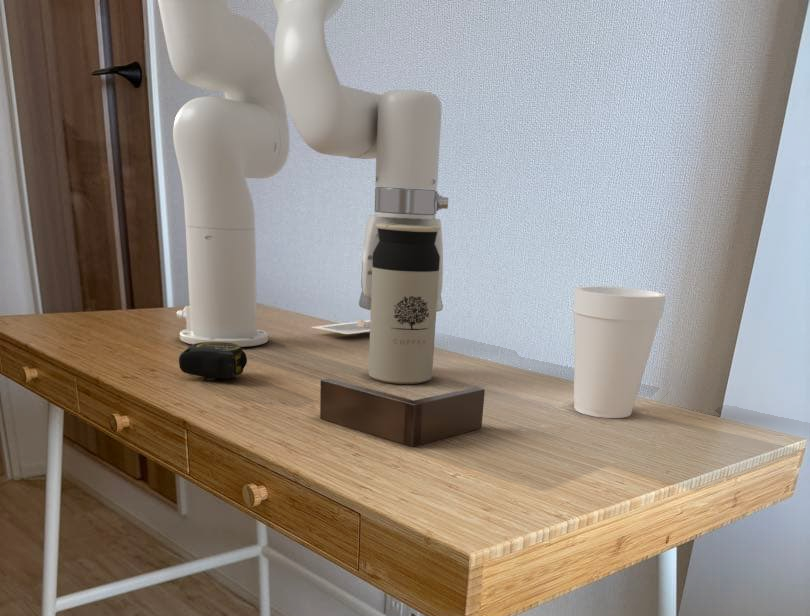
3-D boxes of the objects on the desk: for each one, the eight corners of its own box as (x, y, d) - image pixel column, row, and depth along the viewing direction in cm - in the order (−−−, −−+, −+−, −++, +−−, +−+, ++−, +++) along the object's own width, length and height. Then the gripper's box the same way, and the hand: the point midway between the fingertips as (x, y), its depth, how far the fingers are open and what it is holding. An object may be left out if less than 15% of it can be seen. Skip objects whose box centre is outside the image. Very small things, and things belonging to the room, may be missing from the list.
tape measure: (176, 380, 97) (174, 348, 95) (203, 369, 103) (201, 338, 102) (231, 386, 96) (230, 353, 94) (254, 374, 102) (254, 343, 100)
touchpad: (310, 334, 131) (310, 320, 130) (373, 326, 142) (374, 313, 141) (346, 341, 126) (347, 327, 126) (409, 332, 137) (409, 319, 136)
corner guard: (319, 418, 84) (320, 379, 83) (390, 403, 92) (392, 367, 90) (412, 447, 77) (414, 404, 75) (481, 428, 84) (485, 389, 82)
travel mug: (369, 370, 108) (374, 221, 101) (430, 373, 108) (440, 225, 101) (367, 383, 100) (373, 224, 93) (433, 386, 101) (443, 228, 94)
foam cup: (544, 402, 96) (558, 285, 91) (610, 398, 99) (627, 286, 94) (593, 424, 88) (611, 297, 83) (662, 419, 91) (684, 297, 86)
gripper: (462, 207, 105) (451, 353, 113) (344, 201, 104) (341, 348, 111) (470, 209, 99) (458, 364, 106) (343, 202, 97) (340, 359, 105)
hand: (398, 355), depth 109 cm, fingers closed
